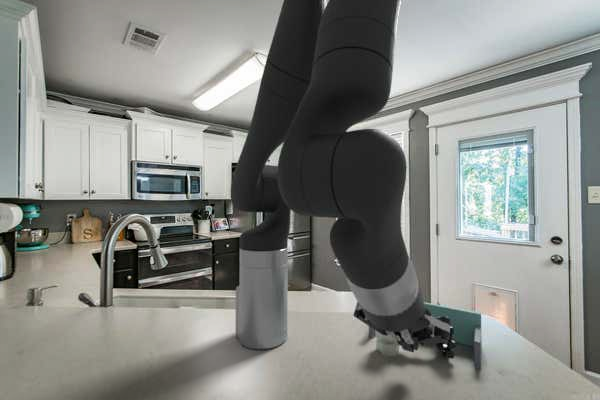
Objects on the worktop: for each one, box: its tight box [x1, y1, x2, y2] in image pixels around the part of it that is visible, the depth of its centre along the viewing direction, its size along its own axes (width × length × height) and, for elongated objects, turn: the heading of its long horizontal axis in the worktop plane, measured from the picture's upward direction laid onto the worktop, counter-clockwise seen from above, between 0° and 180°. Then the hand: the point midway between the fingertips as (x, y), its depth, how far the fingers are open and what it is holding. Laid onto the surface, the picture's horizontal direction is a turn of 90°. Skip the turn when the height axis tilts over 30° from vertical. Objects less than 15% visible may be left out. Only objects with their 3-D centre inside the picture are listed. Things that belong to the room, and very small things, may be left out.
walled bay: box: [368, 301, 483, 369], centre depth 50 cm, size 18×8×6 cm, turn 55°
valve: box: [375, 317, 457, 359], centre depth 46 cm, size 7×7×12 cm
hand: (409, 344), depth 41 cm, fingers closed
